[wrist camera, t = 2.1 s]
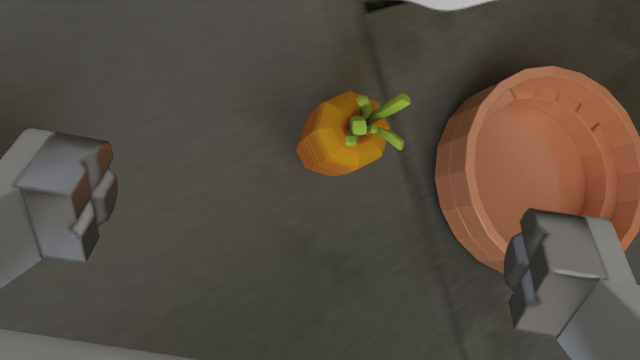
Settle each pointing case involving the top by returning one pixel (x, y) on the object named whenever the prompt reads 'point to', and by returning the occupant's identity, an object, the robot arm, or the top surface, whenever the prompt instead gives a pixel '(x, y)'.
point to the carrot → (348, 133)
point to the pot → (537, 159)
